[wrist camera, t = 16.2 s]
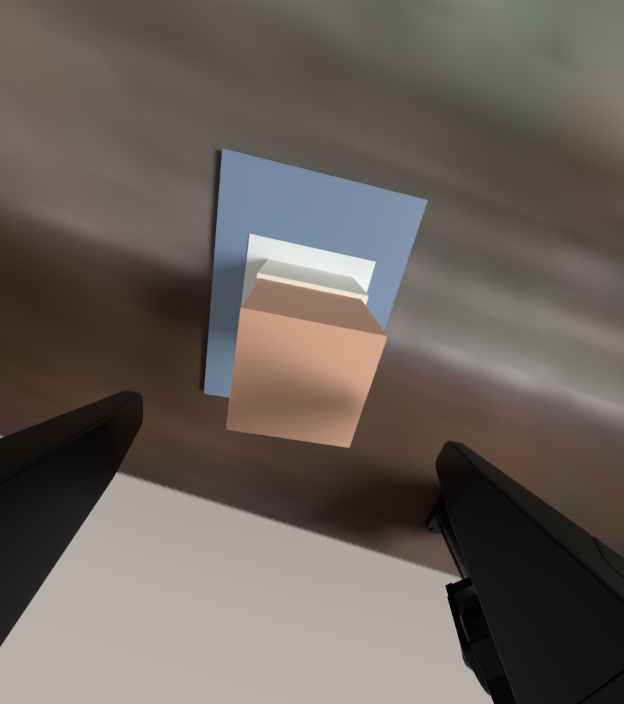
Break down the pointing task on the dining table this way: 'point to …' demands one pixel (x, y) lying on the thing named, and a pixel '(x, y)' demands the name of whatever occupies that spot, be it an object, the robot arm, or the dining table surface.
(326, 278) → the cream block
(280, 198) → the board
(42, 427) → the robot arm
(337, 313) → the terracotta block
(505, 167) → the dining table surface
